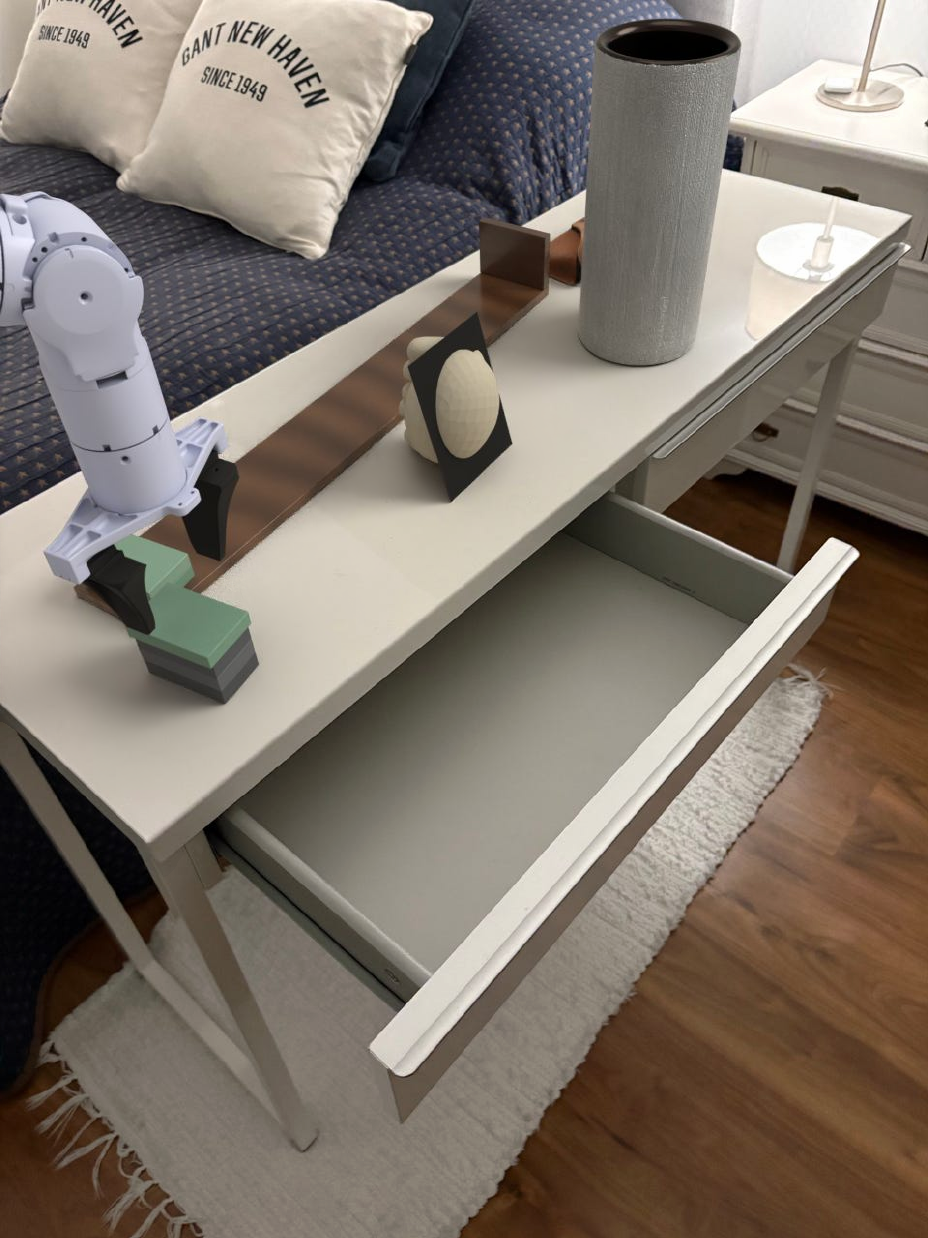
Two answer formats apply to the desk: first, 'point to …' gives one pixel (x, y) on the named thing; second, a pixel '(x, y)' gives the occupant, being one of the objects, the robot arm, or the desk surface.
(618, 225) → the planter
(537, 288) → the book ledge
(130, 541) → the green flat block
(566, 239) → the sunglasses case
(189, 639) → the sage book
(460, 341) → the decorative object
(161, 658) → the grey books
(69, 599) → the desk surface
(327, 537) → the desk surface
